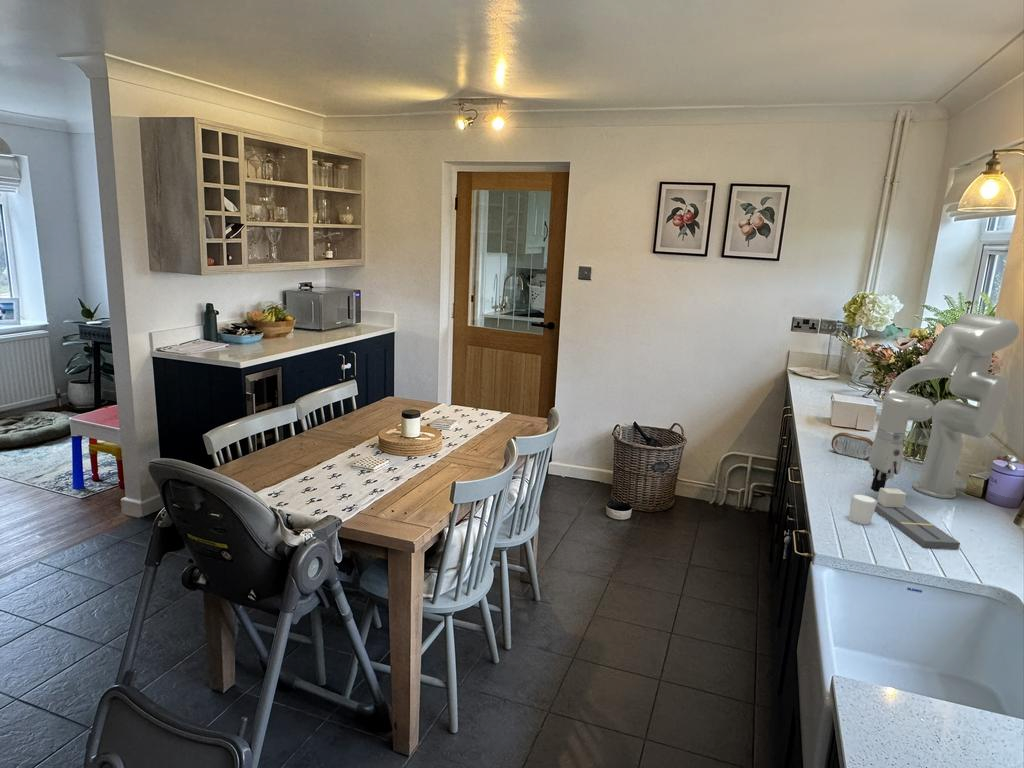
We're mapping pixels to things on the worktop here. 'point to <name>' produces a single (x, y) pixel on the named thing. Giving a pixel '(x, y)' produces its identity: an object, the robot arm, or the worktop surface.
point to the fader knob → (891, 497)
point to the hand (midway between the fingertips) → (877, 490)
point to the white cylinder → (862, 508)
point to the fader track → (917, 527)
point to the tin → (852, 445)
